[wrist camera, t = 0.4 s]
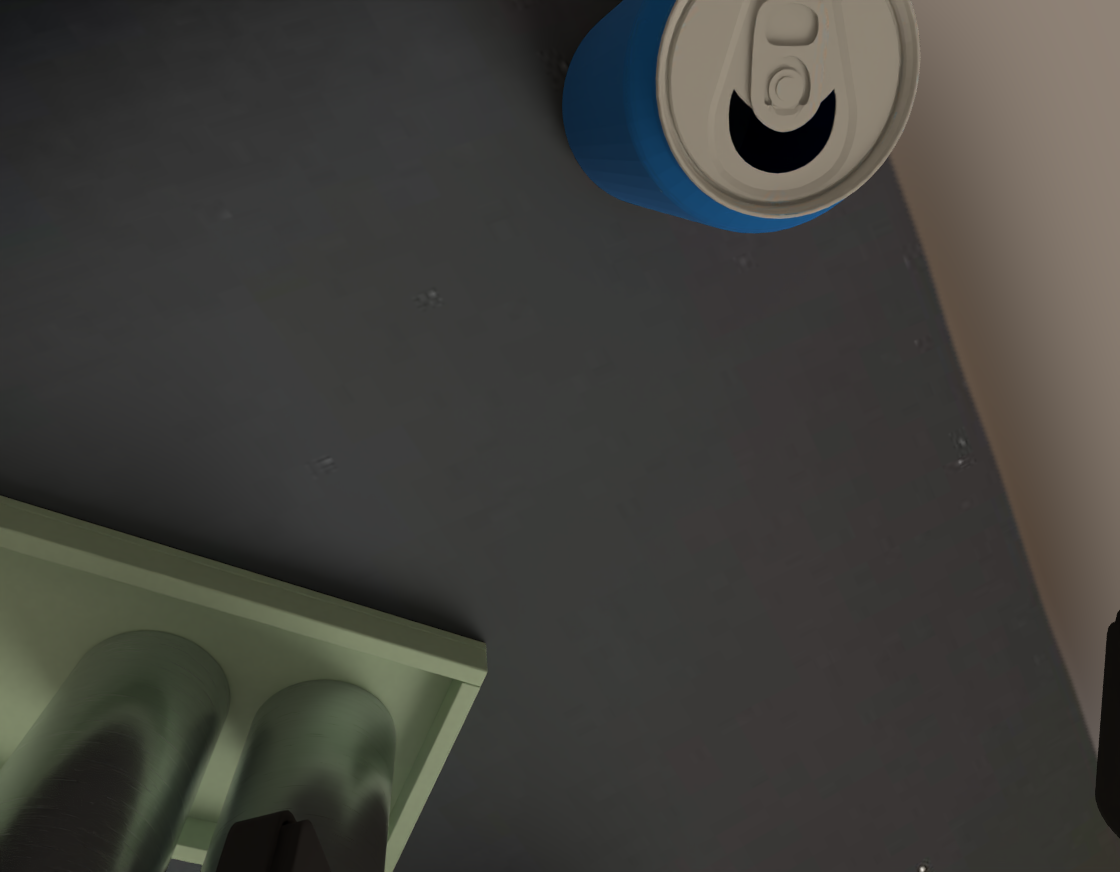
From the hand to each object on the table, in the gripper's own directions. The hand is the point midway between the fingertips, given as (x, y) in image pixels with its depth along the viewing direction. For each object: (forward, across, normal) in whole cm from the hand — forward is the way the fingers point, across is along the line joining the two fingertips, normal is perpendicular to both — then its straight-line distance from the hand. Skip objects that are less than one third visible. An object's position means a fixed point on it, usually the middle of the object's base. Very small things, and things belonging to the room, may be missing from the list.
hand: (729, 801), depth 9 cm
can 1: (+22, +18, +10) cm, 30 cm away
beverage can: (+22, -6, -7) cm, 24 cm away
